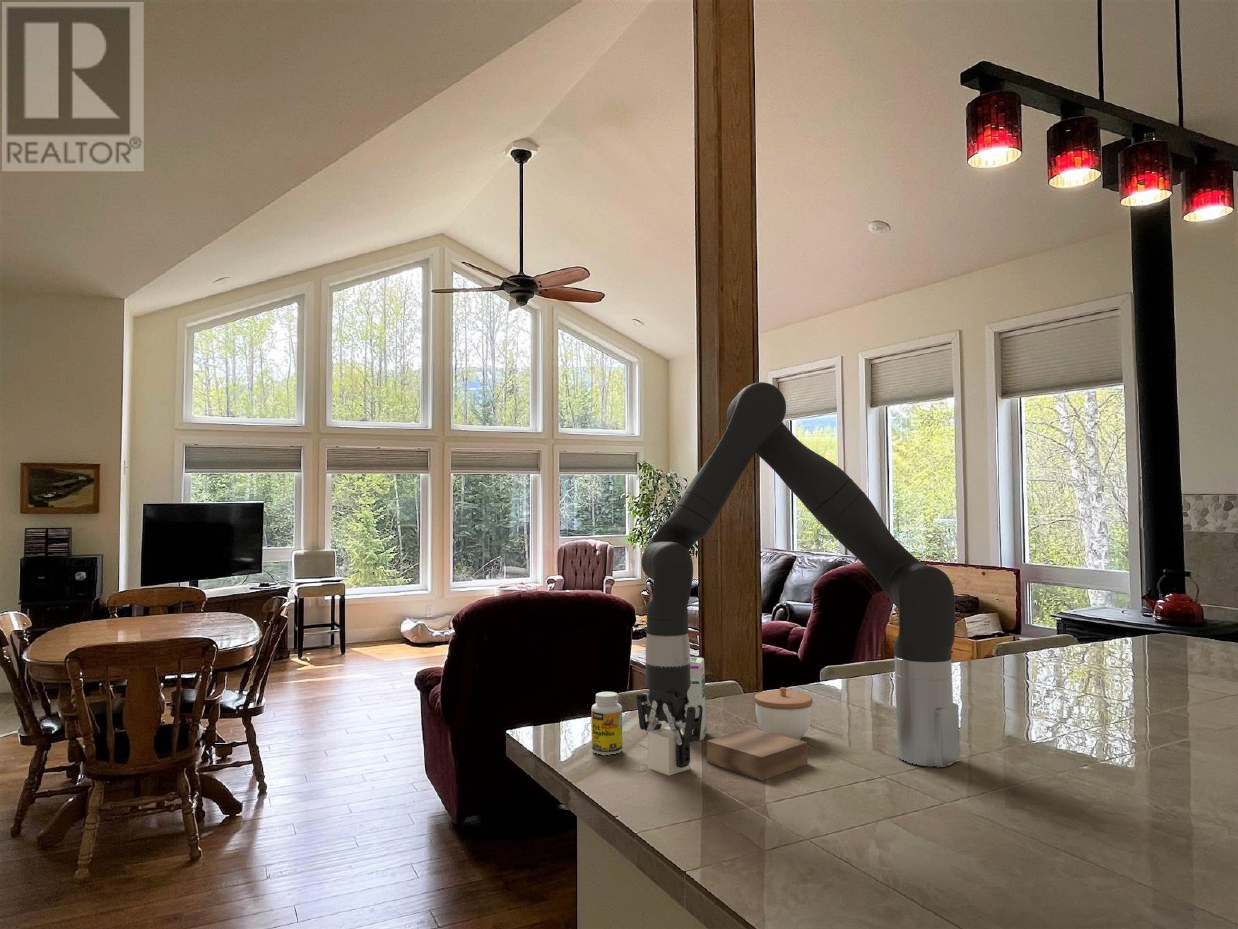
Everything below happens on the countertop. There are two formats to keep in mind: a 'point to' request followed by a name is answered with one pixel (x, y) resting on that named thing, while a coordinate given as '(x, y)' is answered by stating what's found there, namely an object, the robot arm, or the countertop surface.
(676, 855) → the countertop surface
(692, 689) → the syrup box
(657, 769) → the cream block
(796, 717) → the lidded jar
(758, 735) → the walnut block
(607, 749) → the supplement bottle
